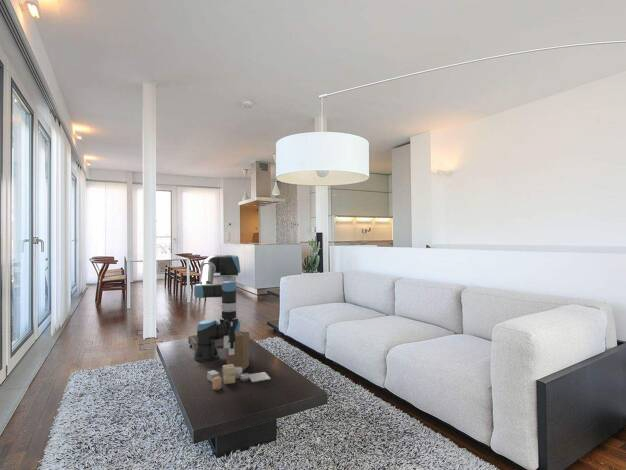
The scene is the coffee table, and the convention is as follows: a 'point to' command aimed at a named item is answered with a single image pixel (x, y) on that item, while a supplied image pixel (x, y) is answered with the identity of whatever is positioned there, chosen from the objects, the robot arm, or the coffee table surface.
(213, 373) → the grey box
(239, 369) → the grey rounded cylinder
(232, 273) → the robot arm
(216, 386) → the peach capsule
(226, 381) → the maple block
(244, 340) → the wooden block
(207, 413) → the coffee table surface
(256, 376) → the coaster
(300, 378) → the coffee table surface
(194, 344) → the book
